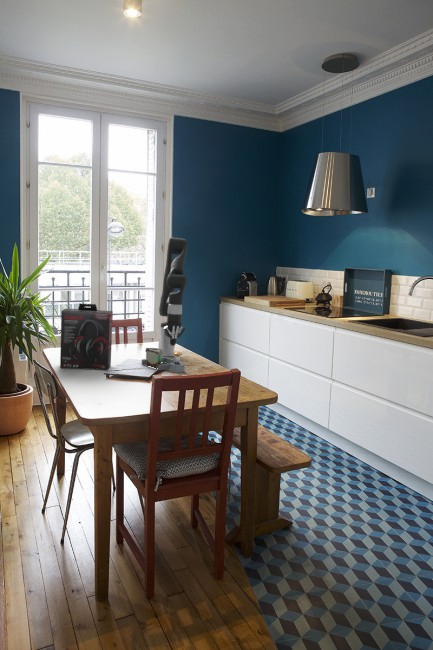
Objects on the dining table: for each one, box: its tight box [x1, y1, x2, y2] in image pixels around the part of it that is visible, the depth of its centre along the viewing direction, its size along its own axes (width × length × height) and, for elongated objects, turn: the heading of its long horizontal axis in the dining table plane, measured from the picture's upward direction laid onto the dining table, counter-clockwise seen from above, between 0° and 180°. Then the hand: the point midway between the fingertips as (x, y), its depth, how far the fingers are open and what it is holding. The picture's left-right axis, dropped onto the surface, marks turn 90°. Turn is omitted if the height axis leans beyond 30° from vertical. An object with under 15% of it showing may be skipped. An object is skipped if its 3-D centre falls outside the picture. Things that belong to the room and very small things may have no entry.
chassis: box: [141, 356, 186, 374], centre depth 275 cm, size 24×16×4 cm
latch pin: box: [173, 351, 183, 364], centre depth 268 cm, size 4×4×6 cm
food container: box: [145, 347, 164, 370], centre depth 273 cm, size 12×6×10 cm, turn 44°
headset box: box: [59, 303, 114, 371], centre depth 260 cm, size 25×12×33 cm, turn 95°
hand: (172, 345), depth 266 cm, fingers closed
